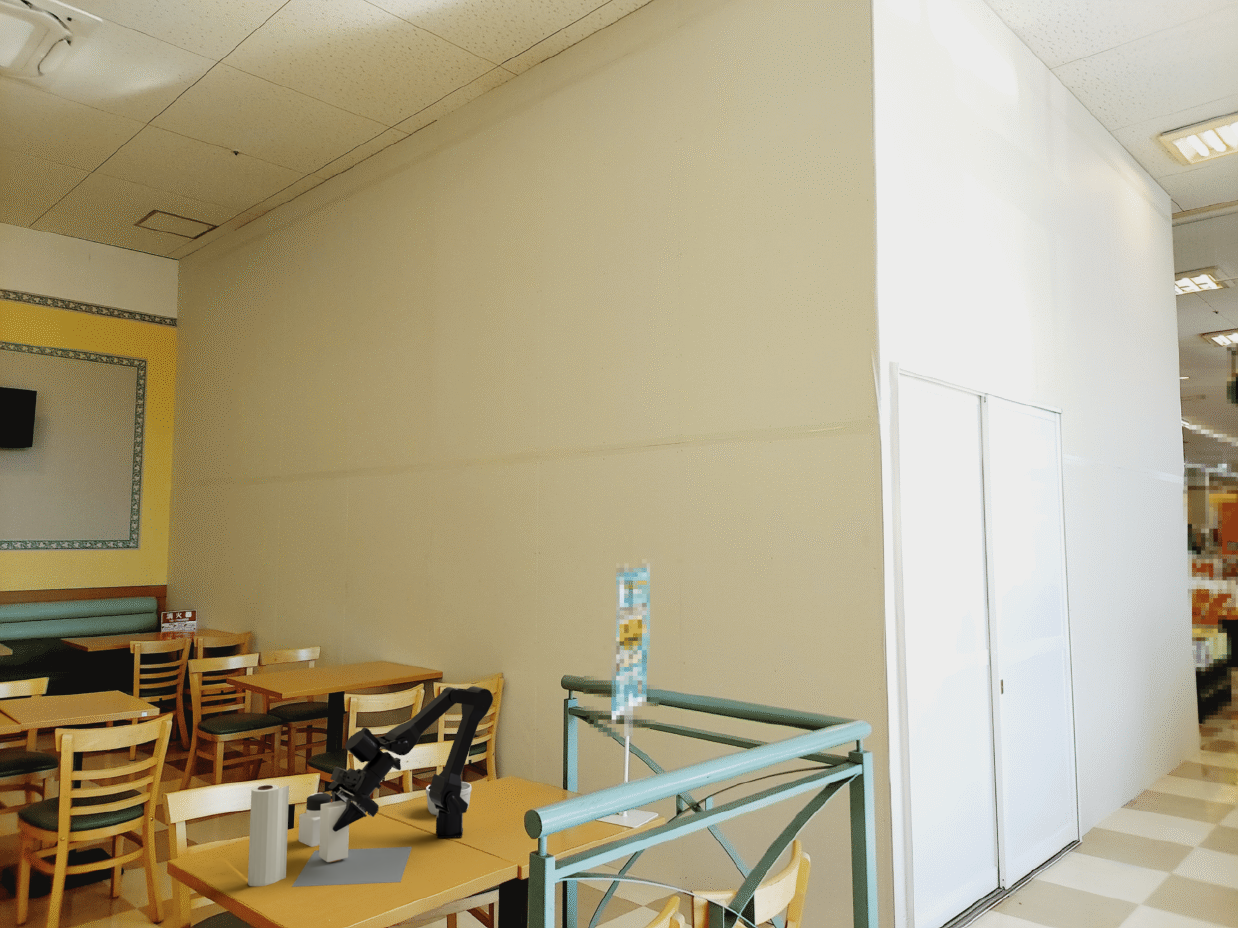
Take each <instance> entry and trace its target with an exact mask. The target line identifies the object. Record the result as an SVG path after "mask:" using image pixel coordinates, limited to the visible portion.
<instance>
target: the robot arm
mask: <svg viewBox="0 0 1238 928" xmlns="http://www.w3.org/2000/svg"><path fill="white" fill-rule="evenodd" d="M493 702H494V696H493V694H492V692H491V691H490V690H489V689H488V688H483V687H480V686H475V685H474V686H472V685H471V686H470V687H468V688H458V687H457V688H456V687H452V686H447V687H445V688H444V689H442V691H441V693H439V694H438V695H437V696H436V697H435V698H433V700H432V701H430V702H429V703H428V704H427V705H426V706H425V707H424V708H422V709H421V710H420V711H419V712H417V713H416V715H414V716H413V717H412V718H411V719H409V720H408V721H406V722H402V723H401V724H399V725H397V726H395V727H393V728H391V729H390V730H389V731H388V732H386V734H384V735H381V736H378V737H376V736H375V735H374V734H373V733H372V730H370V729H369V728H368V727H365V726H364V727H362V729H361V730H358V731H357V732H355V733H354V734H353V735H351V736H349V738H348V739H347V740H346V743H345V744H344V745H345V746H344V748H345V750H347V751H348V753H350V754H351V755H353V757H354V758H355V759H356V760H357V761H359V762H360V763H363V764H364V763H365V762H367V763H366V764H365V765H364V766H363V767H362V768H357V769H354V768H351V767H350V768H348V769H345V768H341V767H338V766H335V767H334V769H333V771H332V774H331V777H330V780H331V782H330V784H329V785H328V789H329V790H331V791H330V795H331V802H335V801H343V802H345V803H346V809H345V810H344V812H343V813H342V815H341V816H340V818H339V819H338V821H337V822H336V824H335V825H334V827H333V830H334V831H335V832H336V831H338V830H340V829H342V828H344V827H345V826H347V825H349V826H350V825H351V824H353V823H354V822H356V821H358V820H361V819H363V818H366V817H367V815H369V816H370V817H372V818H374V817H375V816H376V815H377V813H378V812H379V804H378V803H377V802H376V801H374V800H373V798H371V797H370V796H371V795H372V793H374V791H375V790H376V789H377V790H380V788H381V787H382V785H381V784H380V783H381V782H382V781H383V780H384V778H385V777H387V774H389V772H390V771H391V770H392V768H393V769H396V770H398V771H401V769H402V765H401V760H402V758H399V757H394V756H393V755H392V754H395V755H398V756H407V755H408V754H409V753H410V752H411V751H412V750H413V748H414V747H415V746H416V745H417V744H418V742H419V740H420V738H421V736H422V735H423V733H424V732H425V731H426V730H427V729H429V728H430V727H431V726H432V725H433V724H435V722H436V721H438V720H439V719H440V718H441V717H442V716H443V715H444V714H445V713H447V712H448V711H449V710H450V709H451V708H452V707H453V706H454V705H455V704H460V705H461V708H460V709H461V720H460V722H459V726H458V728H457V731H456V734H455V736H454V738H453V739H454V740H453V743H452V745H451V749H450V751H449V754H448V757H447V759H446V763H445V766H444V768H443V770H442V771H441V772H440V773H439V774H437V773H434V774H433V776H432V779H431V783H430V784H429V785H430V786H429V785H428V786H429V788H428V789H430V792H429V797H430V799H431V801H432V802H433V803H434V805H435V808H436V809H439V813H438V815H436V818H435V822H436V823H435V834H436V838H437V839H445V838H444V837H446V839H447V838H448V839H450V838H451V837H454V838H463V834H464V833H463V832H464V827H463V825H464V824H463V820H464V818H463V816H464V814H465V813H467V811H468V809H469V807H468V804H467V803H466V802H465V801H464V800H463V799H462V798H461V797H460V794H461V789H462V783H461V782H462V773H463V770H464V767H465V764H466V763H467V758H468V756H469V752H470V749H471V746H472V743H473V741H474V737H475V736H476V733H477V730H478V729H477V728H478V726H479V724H480V722H481V721H482V719H484V718H485V717H486V715H487V714H488V713H489V711H490V708H491V707H492V704H493ZM382 749H383V750H385V752H383V751H382ZM391 753H392V754H391ZM467 808H468V809H467ZM366 813H367V814H366Z"/></svg>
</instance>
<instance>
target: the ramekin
mask: <svg viewBox="0 0 1238 928" xmlns="http://www.w3.org/2000/svg"><path fill="white" fill-rule="evenodd" d="M461 783H462V789H461V794H460V797H461V798H462V799H463V800H464V801H465V802H466V803H467V804H468V808H467V810H468V809H469V807H470V801H471V800H470V799H471V793H472V784H471V783H469V782H466V781H461ZM430 785H431V784H428V785H427V786H426V787H425V794H426V804H427V810H428V811H429V813H430V814H431V815H434V816H437V815H438V813H439V809H436V808H435V805H434V803H433V802H432V801H431V799H430V797H429V792H430V789H428V788H429V786H430Z"/></svg>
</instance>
